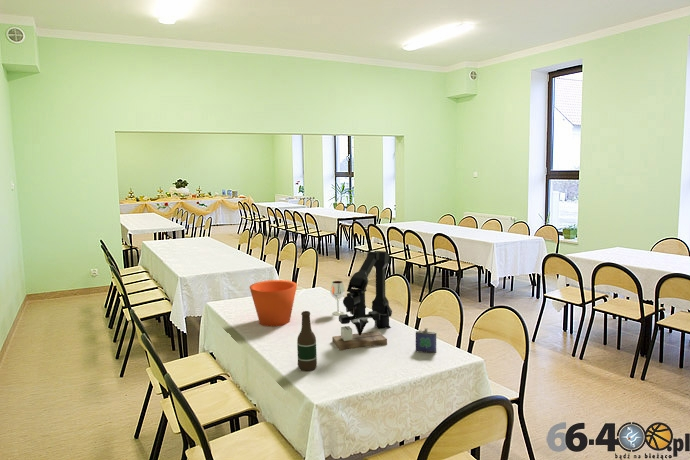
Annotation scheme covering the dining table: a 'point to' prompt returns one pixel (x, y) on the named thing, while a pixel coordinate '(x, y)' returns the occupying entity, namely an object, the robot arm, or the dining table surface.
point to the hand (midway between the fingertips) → (359, 334)
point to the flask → (426, 341)
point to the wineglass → (337, 294)
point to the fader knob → (346, 333)
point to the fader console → (360, 340)
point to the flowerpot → (273, 301)
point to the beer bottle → (306, 345)
